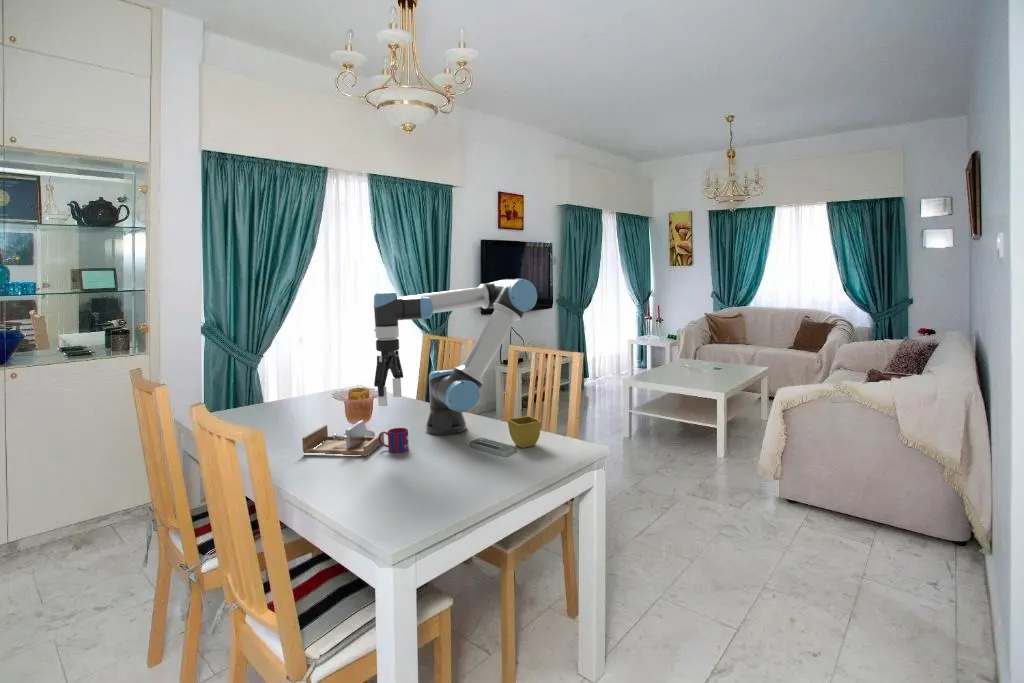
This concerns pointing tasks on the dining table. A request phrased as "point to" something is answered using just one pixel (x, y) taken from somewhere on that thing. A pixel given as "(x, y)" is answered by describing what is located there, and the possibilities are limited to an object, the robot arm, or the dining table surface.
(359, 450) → the wooden tray
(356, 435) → the pusher
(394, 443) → the mug
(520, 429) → the flower pot
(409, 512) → the dining table surface
